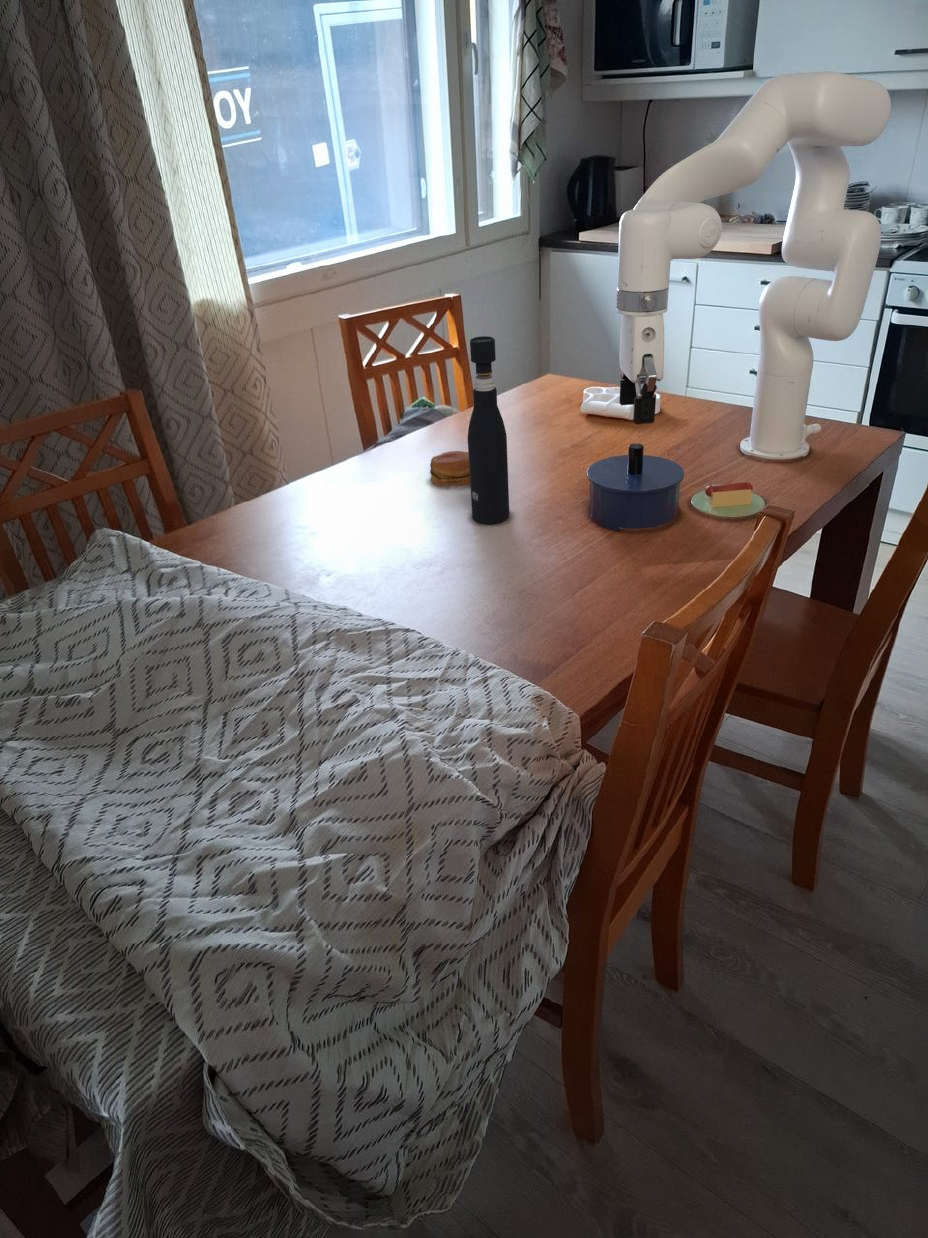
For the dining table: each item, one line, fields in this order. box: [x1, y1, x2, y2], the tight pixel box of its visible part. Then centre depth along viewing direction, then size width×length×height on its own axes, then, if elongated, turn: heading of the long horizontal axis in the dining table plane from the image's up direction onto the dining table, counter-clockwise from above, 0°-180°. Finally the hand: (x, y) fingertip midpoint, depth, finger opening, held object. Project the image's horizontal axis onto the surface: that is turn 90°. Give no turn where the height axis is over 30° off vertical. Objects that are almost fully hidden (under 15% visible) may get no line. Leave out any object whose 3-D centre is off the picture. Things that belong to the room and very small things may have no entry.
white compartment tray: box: [579, 386, 662, 421], centre depth 191 cm, size 3×18×15 cm
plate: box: [690, 489, 766, 518], centre depth 146 cm, size 12×12×1 cm
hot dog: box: [704, 481, 754, 507], centre depth 145 cm, size 8×4×3 cm, turn 94°
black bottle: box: [467, 335, 510, 526], centre depth 140 cm, size 6×6×30 cm
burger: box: [429, 450, 470, 488], centre depth 162 cm, size 10×9×5 cm
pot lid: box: [586, 442, 685, 494], centre depth 141 cm, size 16×16×6 cm
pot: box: [589, 481, 681, 532], centre depth 144 cm, size 15×15×7 cm
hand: (636, 413), depth 136 cm, fingers open, 9 cm apart
